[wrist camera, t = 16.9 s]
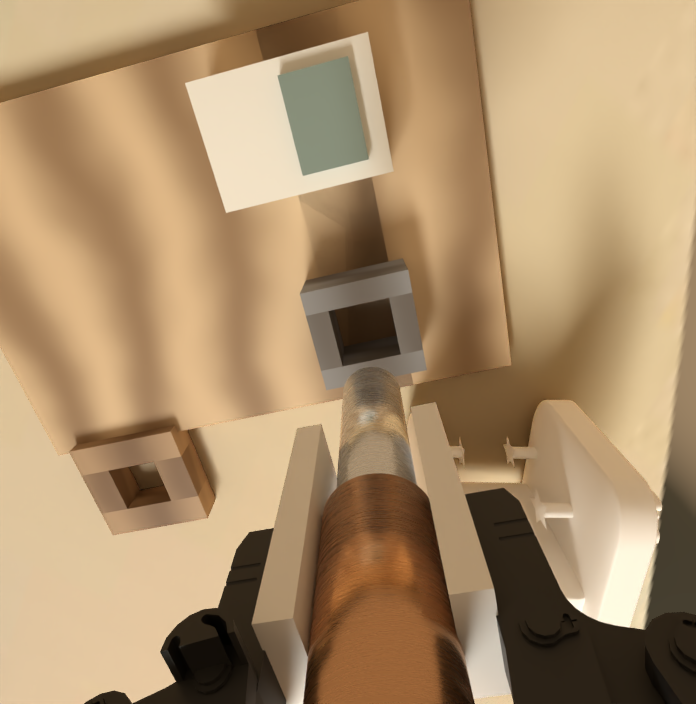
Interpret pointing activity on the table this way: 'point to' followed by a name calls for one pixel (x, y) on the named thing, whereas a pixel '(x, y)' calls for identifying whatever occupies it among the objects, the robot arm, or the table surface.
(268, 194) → the block
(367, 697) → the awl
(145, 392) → the plywood panel
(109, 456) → the tool rest
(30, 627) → the table surface
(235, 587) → the robot arm
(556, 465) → the cable organizer
